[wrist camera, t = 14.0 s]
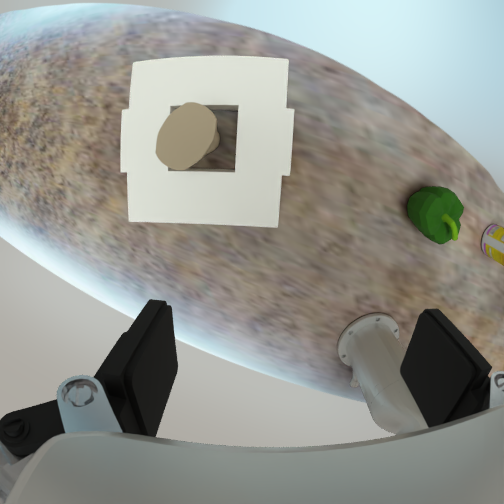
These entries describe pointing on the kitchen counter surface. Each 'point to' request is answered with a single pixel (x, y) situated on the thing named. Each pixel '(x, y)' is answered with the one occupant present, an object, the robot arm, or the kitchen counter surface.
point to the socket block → (247, 147)
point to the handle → (187, 136)
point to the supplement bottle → (494, 243)
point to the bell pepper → (436, 213)
